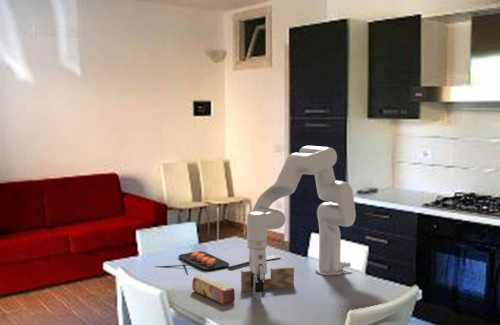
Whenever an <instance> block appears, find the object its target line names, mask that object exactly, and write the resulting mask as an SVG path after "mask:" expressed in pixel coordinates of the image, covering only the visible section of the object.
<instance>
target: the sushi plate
mask: <svg viewBox="0 0 500 325" xmlns="http://www.w3.org/2000/svg"><path fill="white" fill-rule="evenodd" d="M178 258H180V259H181V260H182V263H183V264H179V265H175V264H174V265H158V266H157V265H156V266H154V268H171V267H172V268H174V267H184V271H185V274H186V276H189V273H188V270H187V267H188V266H195V267H196V268H197V267H198V268H199V269H201V270H205V271H206V270H209V271H210V270H215V269H220V268H225V267H229V266H230V263H229V262H227V261H226V260H224V259H221V258H218V257H217V256H214V255H212V254H210V253H207V252H205V251H199V250H198V251H192V252H187V253H181V254H179V255H178ZM185 262H186V263H189V264H185ZM186 266H187V267H186Z"/></svg>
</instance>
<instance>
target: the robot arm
mask: <svg viewBox="0 0 500 325" xmlns="http://www.w3.org/2000/svg"><path fill="white" fill-rule="evenodd" d="M337 154H338V153H337V151H336V150H335V149H334V148H332V147H329V146H318V145H317V146H316V145H305V146H302V147H301V148H300V149H299V151H298V152H293V153H290V154H289V155H288V156H287V158H286V160H285V162H284V164H283V166H282V168H281V170H280V171H279V172H280V173H279V174H278V176H277V179H276V180H275V182H274V183H273V184H272V185H271V186H269V187H268V188H267V189H266V190H265V191H263V192H262V193H261V194H260V196H259V197H258V198H257V200H256V202H255V204H254V205H253V206H254V207H253V209H252V211H249V212H248V213H247V218H246V221H247V223H246V232H247V233H246V236H247V241H246V245H247V246H246V248H247V249H249V250H248V261H249V266H248V267H249V270H251V286H253V275H256V282H255V292H261V293H264V290H265V289H264V274H265V275H267V273H268V266H267V263H268V262H267V260H266V256H267V253H266V249H267V248H268V246H267V245H268V243H267V241H268V240H267V239H268V237H267V234H268V230H278V229H281V228H282V227H283V226H284V225H285V223H286V215H285V214H284V212H282V211H281V210H278V209H274V208H270V207H271V205H273V204H274V203H275V201H276V202H277V201H278V200H280V199H282V198H284V197H287V196H290V195H292V194H294V193H295V191H296V190H297V187H298V184H299V183H300V181H301V179H302V177H303V175H309V176H311V175H313V176H314V180H315V186H316V193H317V196H318V198H319V199H320V200H322V201H324V202H322V203H320V204H319V205H318V207H317V210H316V216H317V217H316V218H317V220H318V229H319V231H318V233H319V234H318V266H316V267H315V268H314V269H315V272H316V274H319V275H322V276H330V277H331V276H339V275H342V274H344V271H345V270H344V269H345V268H350V267H351V263H350V262H346V261H341V246H342V245H341V238H342V237H341V236H342V235H341V230H340V227H347V228H348V227H351V226H352V225H354V223H355V220H356V214H357V213H356V206H355V200H354V199H355V198H354V192H353V188H352V186H351V184H349V182H348V181H344V180H337V179H336V176H335V172H334V168H333V166H335V164H336V163H337V159H338V155H337ZM339 226H340V227H339ZM258 273H260V274H258ZM259 276H260V277H259Z"/></svg>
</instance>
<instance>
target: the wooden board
mask: <svg viewBox="0 0 500 325" xmlns="http://www.w3.org/2000/svg"><path fill="white" fill-rule="evenodd" d="M258 274H260V273H258ZM259 277H260V276H259ZM240 283H241V284H240V285H241V286H240V290H241V291H242V292H246V291H253V286H251V270H250V269H247V270H240ZM294 284H295V267H294V266H283V267H271V268H270V277H266V274H264V290H268V289H269V290H270V289H279V288H280V289H282V288H291V287H295V285H294Z"/></svg>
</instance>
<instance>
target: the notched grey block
mask: <svg viewBox="0 0 500 325" xmlns="http://www.w3.org/2000/svg"><path fill="white" fill-rule="evenodd" d="M255 282H256V275H253V290H252V295H253V297H255V299H256V302H257V301H262V292H255Z"/></svg>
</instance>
